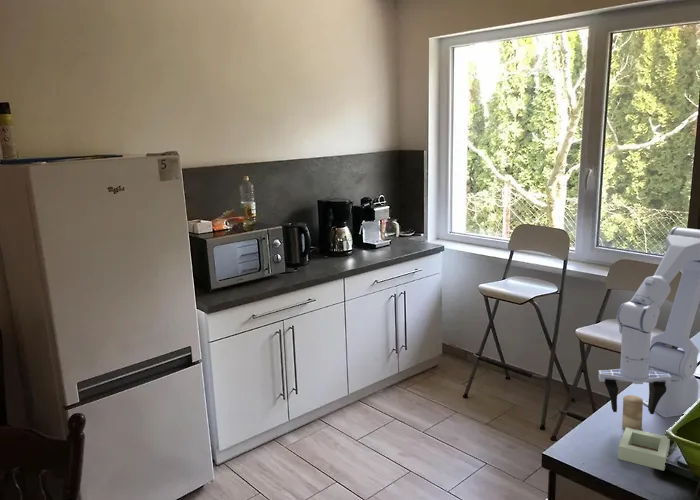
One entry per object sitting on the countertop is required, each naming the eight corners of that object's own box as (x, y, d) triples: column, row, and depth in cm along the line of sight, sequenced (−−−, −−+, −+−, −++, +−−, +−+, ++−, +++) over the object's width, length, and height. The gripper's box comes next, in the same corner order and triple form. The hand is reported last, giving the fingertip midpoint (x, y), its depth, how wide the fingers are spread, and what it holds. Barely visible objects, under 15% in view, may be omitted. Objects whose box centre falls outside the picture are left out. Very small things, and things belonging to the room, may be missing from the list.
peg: (634, 421, 133) (635, 394, 131) (645, 430, 129) (646, 402, 127) (618, 424, 132) (619, 396, 130) (629, 433, 128) (630, 404, 127)
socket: (625, 439, 126) (626, 427, 125) (669, 449, 121) (670, 437, 120) (618, 458, 119) (618, 446, 118) (664, 470, 114) (664, 457, 113)
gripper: (603, 361, 124) (601, 417, 127) (676, 363, 121) (673, 422, 124) (597, 348, 131) (595, 402, 134) (667, 351, 128) (663, 406, 130)
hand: (632, 411), depth 129 cm, fingers open, 7 cm apart
